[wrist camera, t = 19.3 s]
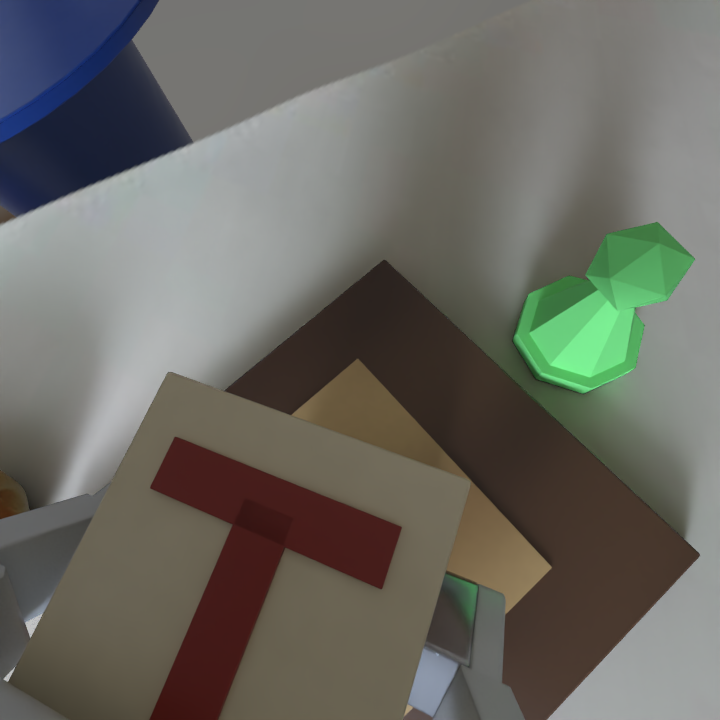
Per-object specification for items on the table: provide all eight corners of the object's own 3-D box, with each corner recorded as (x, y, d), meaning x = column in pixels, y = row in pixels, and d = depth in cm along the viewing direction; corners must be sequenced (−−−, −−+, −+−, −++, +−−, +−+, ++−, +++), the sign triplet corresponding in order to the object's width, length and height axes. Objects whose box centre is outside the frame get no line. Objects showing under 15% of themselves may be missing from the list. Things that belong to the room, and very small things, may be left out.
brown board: (57, 538, 16) (37, 540, 15) (385, 268, 18) (384, 256, 17) (283, 979, 11) (273, 1017, 11) (686, 552, 14) (704, 555, 13)
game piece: (505, 289, 17) (549, 180, 11) (621, 281, 17) (727, 163, 11) (520, 396, 16) (579, 332, 10) (648, 391, 15) (785, 320, 10)
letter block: (230, 599, 13) (-19, 718, 6) (294, 443, 15) (163, 368, 7) (386, 674, 12) (337, 947, 5) (440, 497, 13) (473, 479, 6)
